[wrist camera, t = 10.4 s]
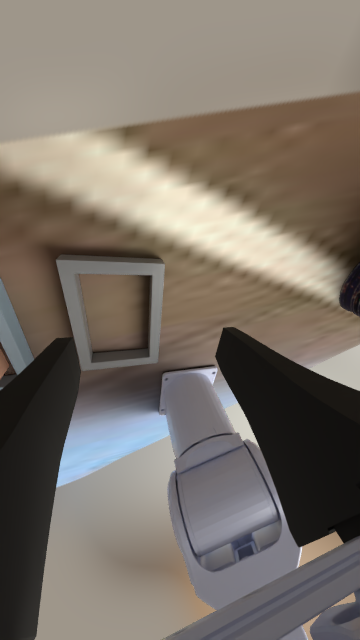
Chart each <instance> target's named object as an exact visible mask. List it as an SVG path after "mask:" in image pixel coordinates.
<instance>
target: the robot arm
mask: <svg viewBox="0 0 360 640" xmlns="http://www.w3.org/2000/svg"><path fill="white" fill-rule="evenodd" d="M215 357H216V360H217V362H218V365H219V367H220V370H221V372H222V374H223V376H224V378H225V380H226V381H227V383H228V385H229V387H230V389H231V390H232V392H233V394H234V396H235V397H236V399H237V401H238V403H239V404H240V406H241V408H242V410H243V412H244V414H245V416H246V417H247V420H248V422H249V424H250V426H251V429H252V431H253V433H254V435H255V437H256V440H257V442H258V445H259V447H260V448H259V447H258V446H257V445H256V444H255V443H253V442H251V441H250V440H248V439H246V440H244V441H242V439H241V437H240V435H239V433H236V432H235V430H234V428H233V426H232V424H231V422H230V420H229V418H228V416H227V414H226V412H225V410H224V408H223V406H222V404H221V401H220V399H219V397H218V395H217V393H216V391H215V389H214V387H213V383H214V379H215V376H216V373H217V367H216V366H213V367H205V368H197V369H189V370H181V371H173V372H166V373H164V374H163V375H162V386H161V396H160V407H159V415H166V418H167V422H168V427H169V432H170V437H171V441H172V446H173V451H174V454H175V457H176V459H175V460H174V462H175V467H176V470H175V471H173V472H172V473H171V476H170V479H169V482H168V503H169V510H170V516H171V521H172V526H173V530H174V534H175V537H176V540H177V543H178V546H179V548H180V550H181V552H182V554H183V557H184V560H185V563H186V567H187V570H188V574H189V577H190V581H191V584H192V585H193V586H194V589H195V593H196V595H197V596H198V598H200V599H201V600H202V601H203V602H205V603H206V604H208V605H210V606H211V607H212V608H214V609H216V610H217V611H215V612H213V613H211V614H209V615H207V616H206V617H204V618H202V619H200V620H198V621H196V622H194V623H192V624H190V625H188V626H186V627H185V628H183V629H181V630H179V631H177V632H175V633H173V634H171V635H170V636H168V637H166V638H164V639H162V640H308V638H307V635H306V633H305V631H304V628H303V626H302V625H303V624H305V623H306V622H308V621H309V620H311V619H313V618H314V617H316V616H317V615H319V614H320V613H321V615H320V616H319V617H318V618H317V619H316V621H315V622H314V623H313V624H312V626H311V627H310V634H311V636H312V638H313V640H360V391H358V390H355V389H352V388H350V387H348V386H345V385H343V384H340V383H338V382H335V381H333V380H330V379H328V378H326V377H324V376H322V375H319V374H317V373H315V372H313V371H311V370H309V369H307V368H305V367H303V366H301V365H299V364H297V363H295V362H293V361H291V360H289V359H288V358H286V357H284V356H282V355H280V354H279V353H277V352H275V351H274V350H272V349H270V348H268V347H267V346H265V345H263V344H262V343H260V342H259V341H257V340H255V339H254V338H252V337H250V336H249V335H247V334H245V333H244V332H242V331H240V330H238V329H236V328H234V327H227V328H223V331H222V334H221V338H220V341H219V345H218V348H217V352H216V355H215ZM80 373H81V370H80V366H79V361H78V357H77V353H76V349H75V345H74V341H73V337H69V338H56V339H55V340H54V341H53V342H52V343H51V344H50V345H49V346H48V347H47V348H46V349H45V350H44V351H43V352H42V353H41V354H40V355H38V356H37V357H36V358H35V359H34V360H33V361H32V362H31V363H30V364H29V365H28V366H27V367H26V368H25V369H24V370H23V371H22V372H21V373H19V374H18V375H17V376H16V377H15V378H14V379H13V380H12V381H11V382H9V383H8V384H7V385H6V386H5V387H4V388H3V389H1V390H0V640H34V639H35V637H36V634H37V625H38V616H39V607H40V599H41V590H42V582H43V573H44V566H45V559H46V551H47V544H48V536H49V529H50V522H51V516H52V509H53V503H54V496H55V490H56V484H57V478H58V472H59V466H60V461H61V456H62V452H63V447H64V443H65V440H66V436H67V432H68V428H69V425H70V421H71V417H72V413H73V410H74V406H75V402H76V398H77V394H78V388H79V381H80ZM165 378H166V379H165ZM335 531H336V532H337V533H338V535H339V536H340V538H341V540H342V541H343V543H344V544H342V545H341V546H338V547H337V548H335V549H333V550H331V551H329V552H327V553H325V554H323V555H321V556H319V557H317V558H316V559H314V560H312V561H310V562H308V563H306V564H304V565H302V566H300V567H299V568H298V566H299V562H300V557H301V552H302V546H304V545H306V544H309V543H311V542H313V541H315V540H318V539H320V538H322V537H325V536H327V535H329V534H331V533H333V532H335ZM353 592H354V594H355V597H356V602H352V603H347V604H342V605H338V606H334V607H332V608H330V607H331V606H333V605H334V604H336V603H337V602H339V601H341V600H342V599H344V598H345V597H347V596H348V595H350V594H351V593H353ZM328 608H329V609H328ZM323 611H324V612H323ZM322 612H323V613H322Z"/></svg>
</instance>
